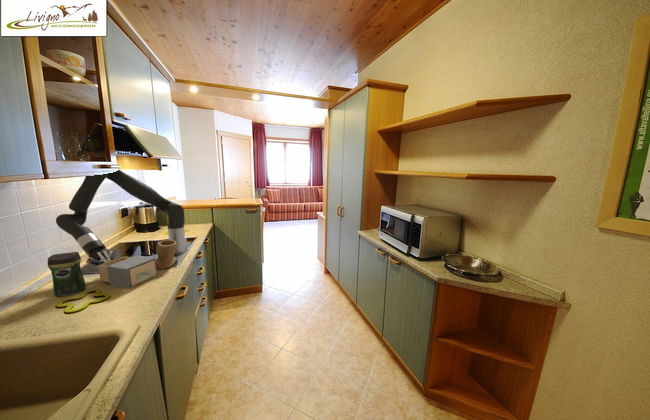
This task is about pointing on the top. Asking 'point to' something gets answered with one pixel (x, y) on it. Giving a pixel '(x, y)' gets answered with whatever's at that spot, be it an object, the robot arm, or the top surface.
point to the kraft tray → (130, 271)
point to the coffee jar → (66, 273)
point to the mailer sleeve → (126, 271)
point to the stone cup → (166, 254)
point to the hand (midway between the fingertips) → (112, 268)
